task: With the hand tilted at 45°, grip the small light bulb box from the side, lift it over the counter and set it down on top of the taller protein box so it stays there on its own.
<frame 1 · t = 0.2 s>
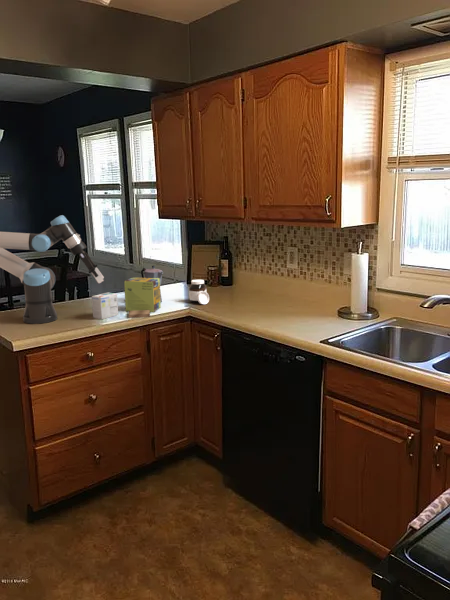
hand: (101, 280, 261), 15 cm above the worktop, tool tilted 30°, fingers open, 13 cm apart
spread jar: (200, 303, 281), on the worktop
light bulb box: (105, 316, 253), on the worktop
protein box: (143, 309, 266), on the worktop
moka pot: (152, 302, 283), on the worktop
walnut coaster board: (139, 315, 255), on the worktop
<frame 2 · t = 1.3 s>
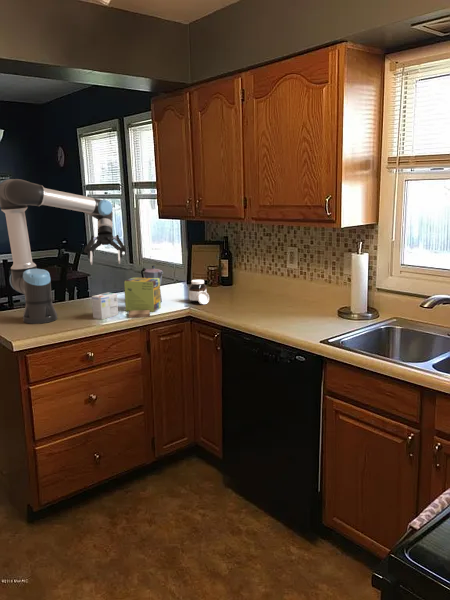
hand: (105, 262, 260), 24 cm above the worktop, tool tilted 45°, fingers open, 13 cm apart
nothing on the worktop moved.
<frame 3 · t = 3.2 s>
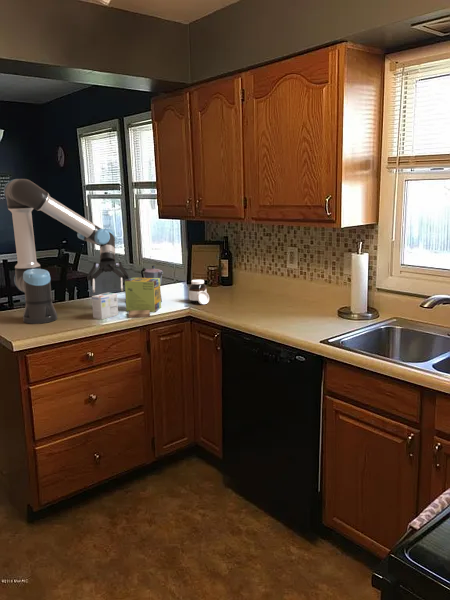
hand: (107, 290, 258), 11 cm above the worktop, tool tilted 45°, fingers open, 13 cm apart
protein box: (143, 309, 266), on the worktop, touching gripper
everything else where it was.
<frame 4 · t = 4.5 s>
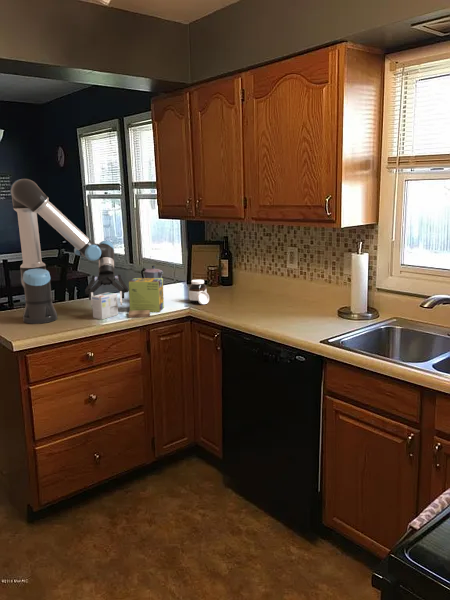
hand: (106, 304, 252), 6 cm above the worktop, tool tilted 45°, fingers open, 13 cm apart
light bulb box: (105, 316, 253), on the worktop, touching gripper
protein box: (147, 310, 265), on the worktop
everything else where it was.
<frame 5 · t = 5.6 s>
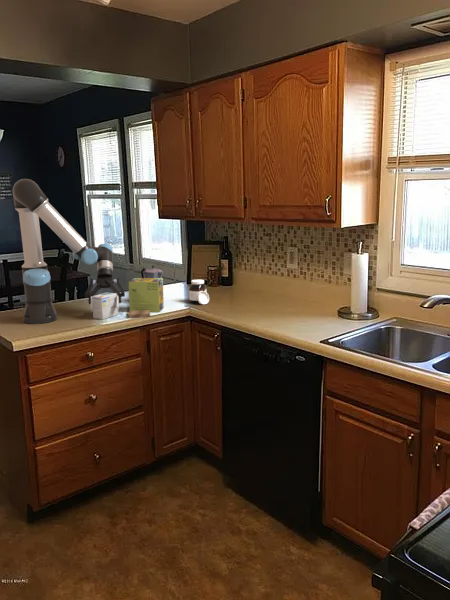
hand: (104, 308, 250), 4 cm above the worktop, tool tilted 45°, fingers closed on light bulb box, 11 cm apart
light bulb box: (105, 316, 253), on the worktop, touching gripper
everything else where it was.
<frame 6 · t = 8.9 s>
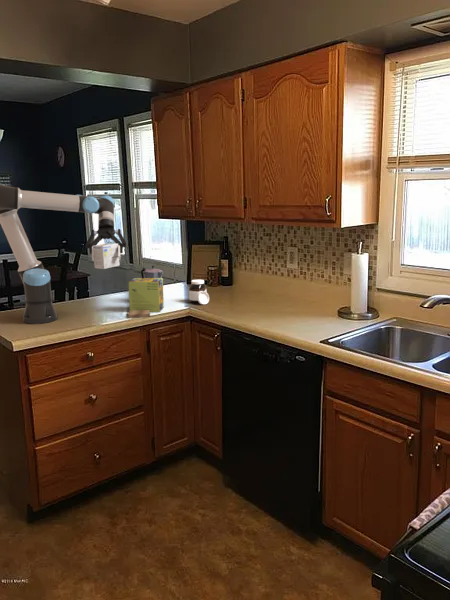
hand: (106, 258, 246), 28 cm above the worktop, tool tilted 45°, fingers closed on light bulb box, 11 cm apart
light bulb box: (107, 267, 249), point 24 cm above the worktop, touching gripper
everything else where it was.
when the fingers open (21 cm above the worktop, at t = 12.0 s): light bulb box drops 1 cm, resting on protein box.
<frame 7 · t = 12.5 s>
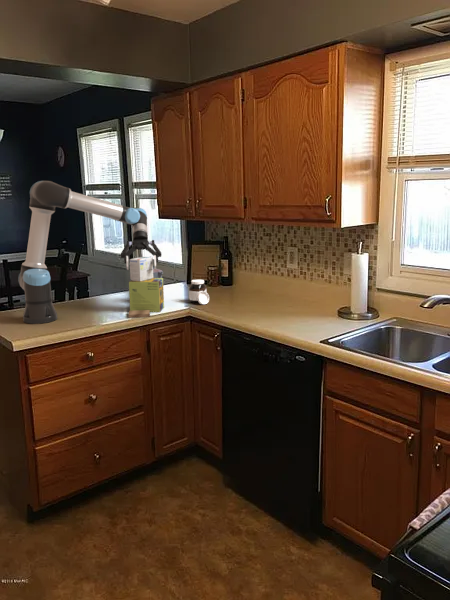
hand: (141, 267, 259), 22 cm above the worktop, tool tilted 45°, fingers open, 13 cm apart
light bulb box: (142, 279, 263), point 15 cm above the worktop, touching protein box
protein box: (147, 310, 265), on the worktop, touching light bulb box
everything else where it was.
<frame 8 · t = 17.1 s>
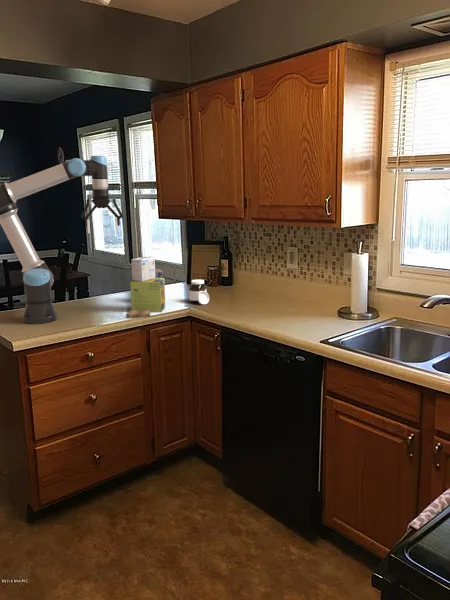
hand: (103, 232, 259), 39 cm above the worktop, tool pointing down, fingers open, 13 cm apart
nothing on the worktop moved.
at the end: light bulb box inside the target area on the protein box (2.2 cm from its centre), point 15.5 cm above the protein box's base; light bulb box tilted 0°; the gripper is holding nothing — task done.
